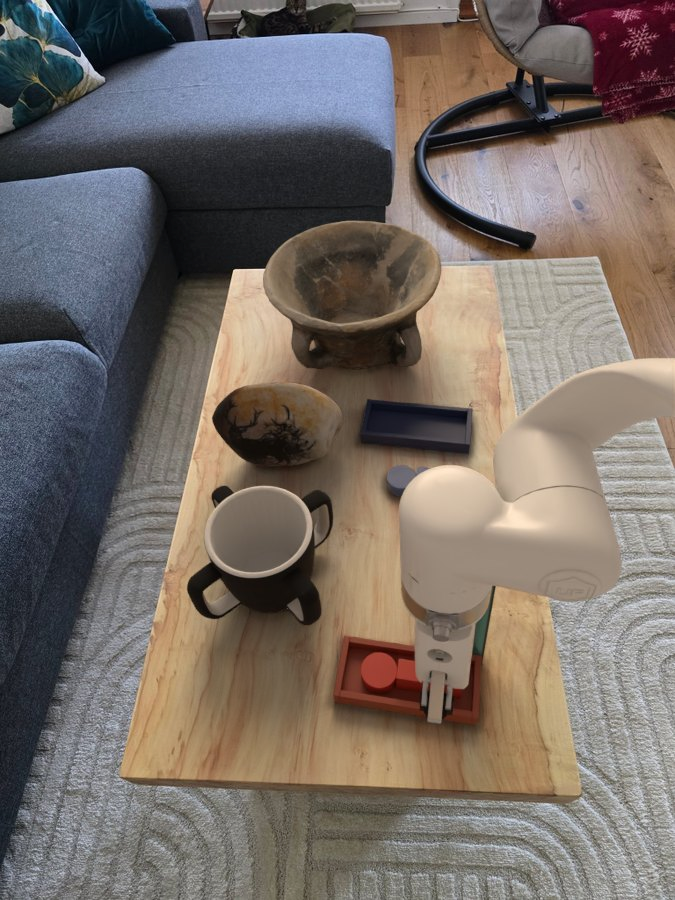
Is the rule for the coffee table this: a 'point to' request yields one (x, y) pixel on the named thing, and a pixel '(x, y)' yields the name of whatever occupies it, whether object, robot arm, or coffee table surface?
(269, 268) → the bowl
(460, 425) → the blue tray
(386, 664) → the red spoon
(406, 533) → the robot arm
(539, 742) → the coffee table surface
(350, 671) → the red tray
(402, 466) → the blue spoon
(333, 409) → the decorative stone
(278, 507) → the mug
